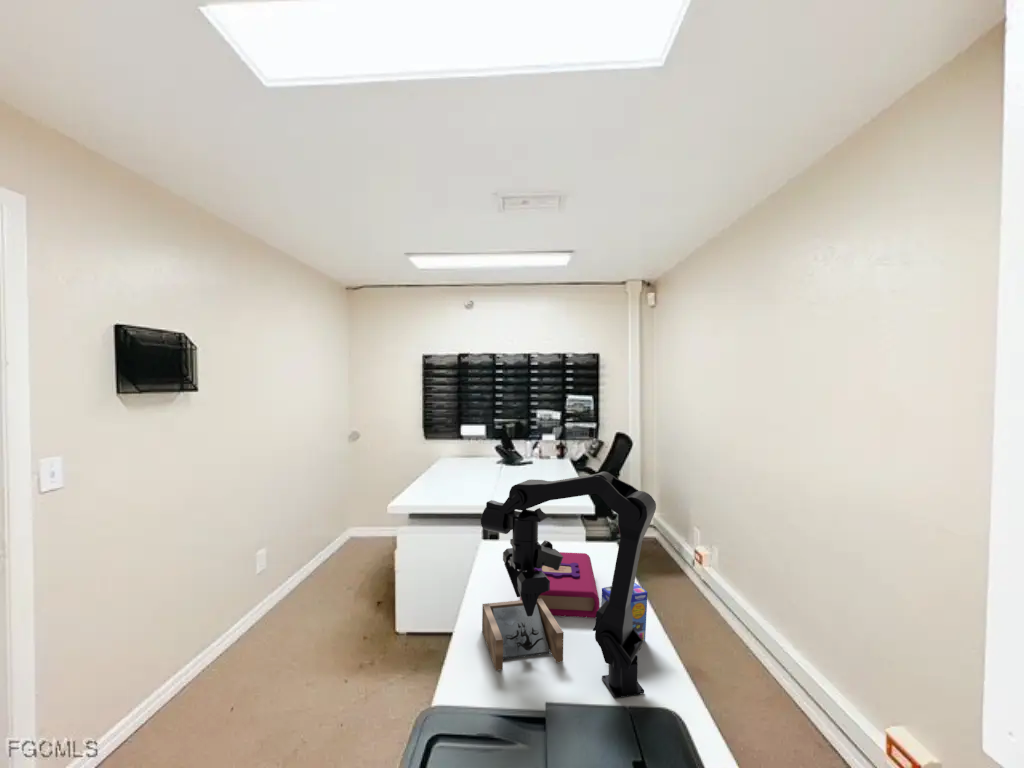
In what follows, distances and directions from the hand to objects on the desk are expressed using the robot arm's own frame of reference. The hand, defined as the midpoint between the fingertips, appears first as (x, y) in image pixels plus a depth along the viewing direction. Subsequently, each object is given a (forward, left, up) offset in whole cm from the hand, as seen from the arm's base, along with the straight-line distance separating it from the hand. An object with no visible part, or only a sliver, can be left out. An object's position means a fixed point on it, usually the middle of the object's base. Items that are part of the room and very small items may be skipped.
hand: (524, 606), depth 111 cm
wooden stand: (+3, 0, -10) cm, 11 cm away
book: (+27, -17, -11) cm, 34 cm away
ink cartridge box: (0, -24, -11) cm, 27 cm away
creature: (+1, 0, -8) cm, 8 cm away
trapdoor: (+3, 0, -8) cm, 8 cm away
